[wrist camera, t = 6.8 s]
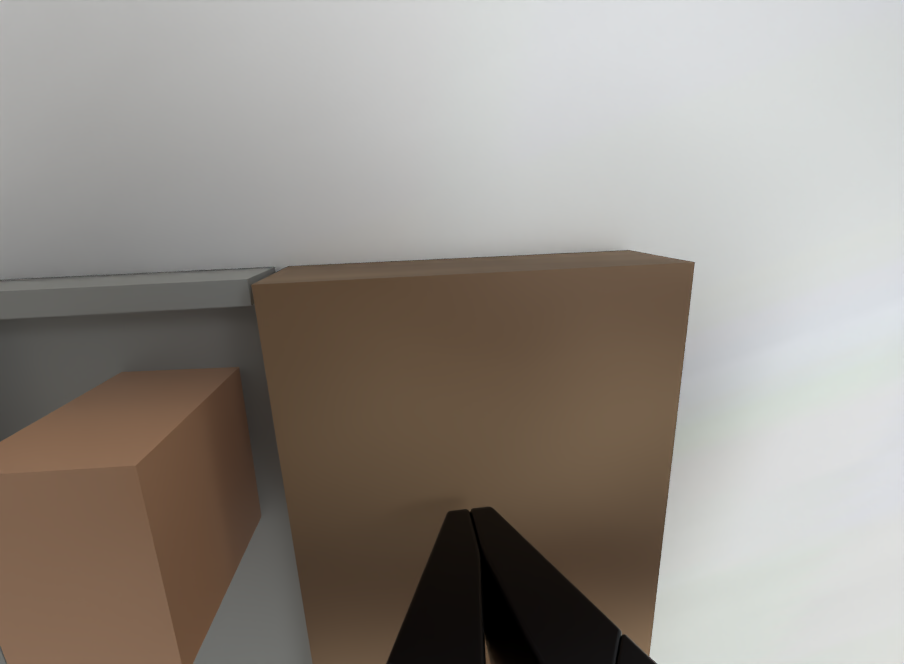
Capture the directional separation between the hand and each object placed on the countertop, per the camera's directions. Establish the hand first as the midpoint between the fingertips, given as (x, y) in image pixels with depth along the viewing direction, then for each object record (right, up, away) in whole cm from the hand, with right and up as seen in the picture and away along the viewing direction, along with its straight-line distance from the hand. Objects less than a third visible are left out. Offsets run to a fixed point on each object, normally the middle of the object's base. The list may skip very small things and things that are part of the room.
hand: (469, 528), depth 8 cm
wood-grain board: (0, -2, +4) cm, 4 cm away
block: (-5, 0, 0) cm, 5 cm away
